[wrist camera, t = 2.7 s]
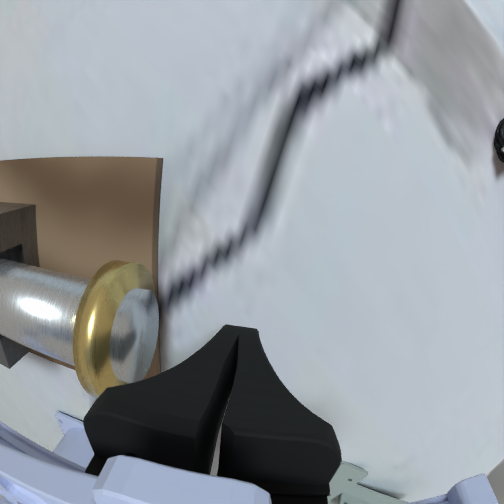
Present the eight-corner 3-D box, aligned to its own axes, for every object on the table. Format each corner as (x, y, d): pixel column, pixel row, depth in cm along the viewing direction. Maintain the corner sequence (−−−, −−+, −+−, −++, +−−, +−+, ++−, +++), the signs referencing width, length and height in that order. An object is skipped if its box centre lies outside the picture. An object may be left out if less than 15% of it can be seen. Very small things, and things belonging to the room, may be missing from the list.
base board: (161, 387, 18) (158, 395, 17) (-42, 308, 19) (-47, 311, 18) (163, 158, 14) (157, 158, 13) (-59, 167, 15) (-65, 169, 14)
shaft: (167, 355, 15) (123, 435, 10) (-17, 297, 16) (-68, 330, 10) (166, 247, 14) (99, 302, 8) (-28, 220, 14) (-89, 242, 9)
